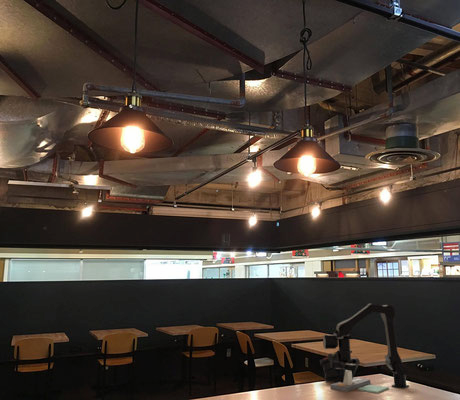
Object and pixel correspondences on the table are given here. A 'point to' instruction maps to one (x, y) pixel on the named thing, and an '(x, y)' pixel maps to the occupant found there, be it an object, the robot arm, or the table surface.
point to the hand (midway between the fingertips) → (346, 381)
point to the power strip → (355, 384)
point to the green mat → (373, 388)
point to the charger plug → (347, 377)
